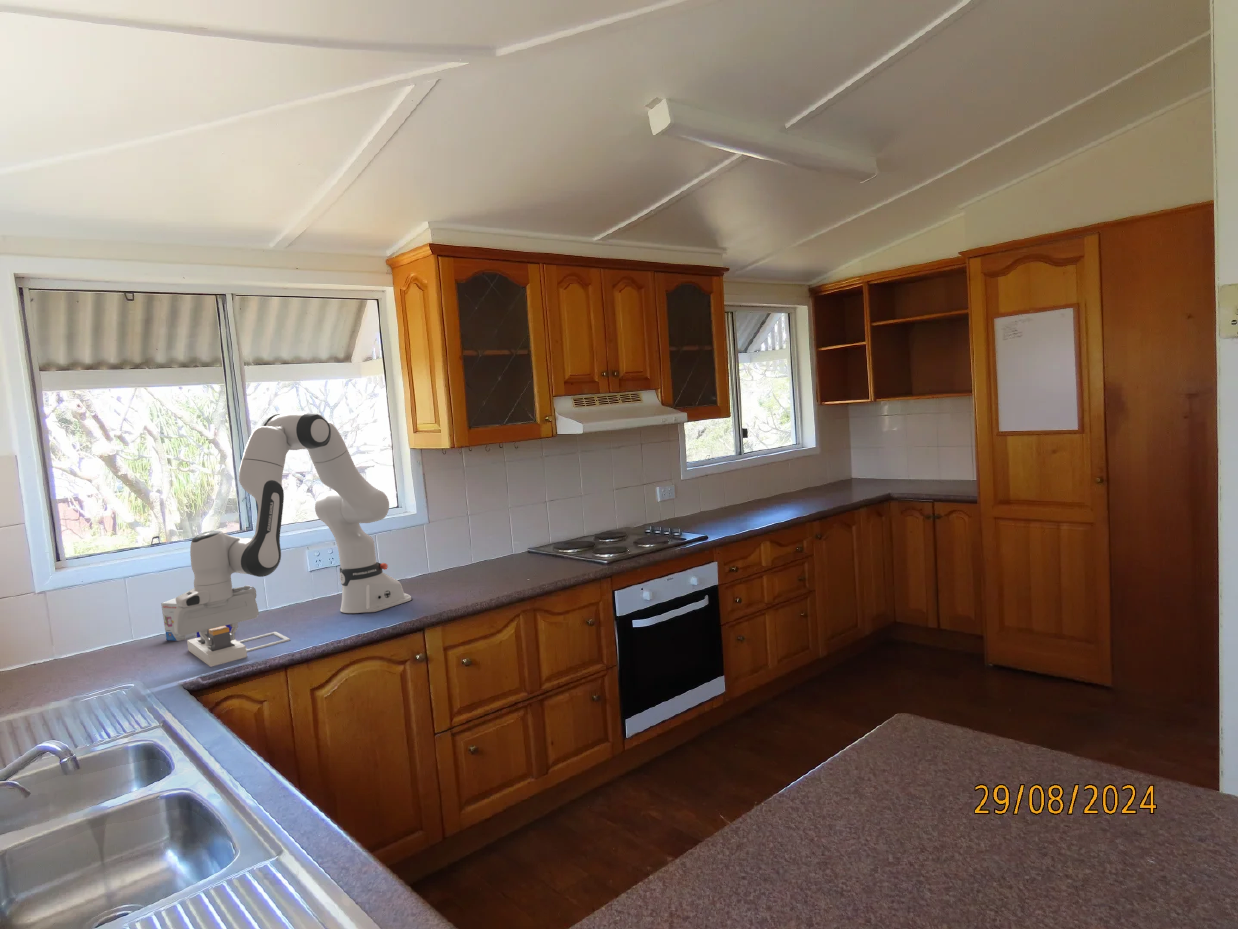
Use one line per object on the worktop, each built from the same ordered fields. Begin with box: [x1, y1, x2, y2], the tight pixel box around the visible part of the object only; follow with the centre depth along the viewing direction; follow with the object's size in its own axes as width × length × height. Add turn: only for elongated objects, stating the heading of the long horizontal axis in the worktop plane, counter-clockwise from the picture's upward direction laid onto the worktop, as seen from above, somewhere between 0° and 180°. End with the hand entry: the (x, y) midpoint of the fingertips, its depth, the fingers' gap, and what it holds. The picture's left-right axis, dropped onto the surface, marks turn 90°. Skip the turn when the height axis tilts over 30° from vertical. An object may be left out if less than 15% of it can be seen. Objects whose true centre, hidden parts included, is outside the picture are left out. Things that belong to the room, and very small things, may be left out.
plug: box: [209, 626, 231, 651], centre depth 206 cm, size 4×4×7 cm
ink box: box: [160, 597, 197, 642], centre depth 232 cm, size 9×5×12 cm, turn 70°
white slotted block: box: [186, 637, 248, 668], centre depth 210 cm, size 9×22×4 cm, turn 42°
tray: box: [237, 631, 291, 653], centre depth 218 cm, size 12×12×1 cm
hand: (220, 642), depth 206 cm, fingers closed on plug, 4 cm apart
